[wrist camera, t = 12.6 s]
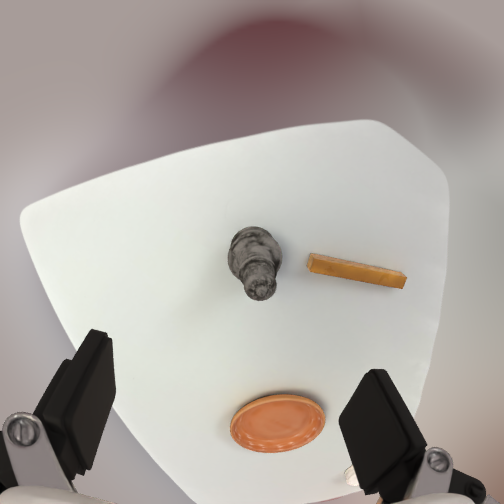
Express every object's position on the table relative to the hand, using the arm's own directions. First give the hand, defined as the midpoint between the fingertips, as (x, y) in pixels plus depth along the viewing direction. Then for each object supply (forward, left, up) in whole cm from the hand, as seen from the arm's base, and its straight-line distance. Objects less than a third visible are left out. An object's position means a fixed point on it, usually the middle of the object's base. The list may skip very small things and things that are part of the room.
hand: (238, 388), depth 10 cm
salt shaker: (+3, +3, -27) cm, 27 cm away
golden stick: (+3, +17, -26) cm, 32 cm away
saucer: (+32, +14, -27) cm, 44 cm away
